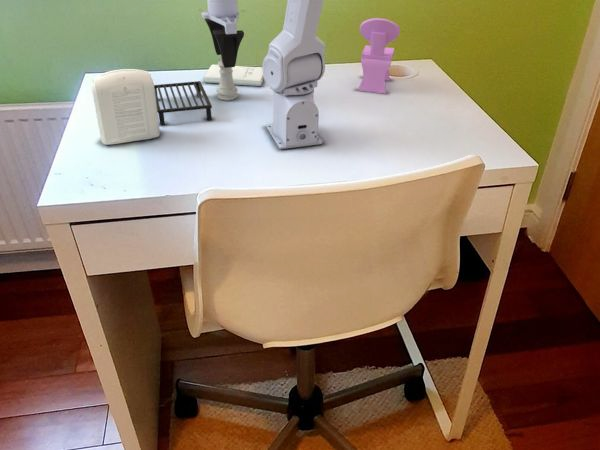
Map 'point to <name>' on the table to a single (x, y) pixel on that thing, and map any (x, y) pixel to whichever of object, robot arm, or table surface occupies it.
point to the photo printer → (125, 106)
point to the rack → (198, 88)
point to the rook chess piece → (226, 83)
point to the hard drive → (237, 75)
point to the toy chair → (377, 53)
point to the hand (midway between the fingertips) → (225, 60)
